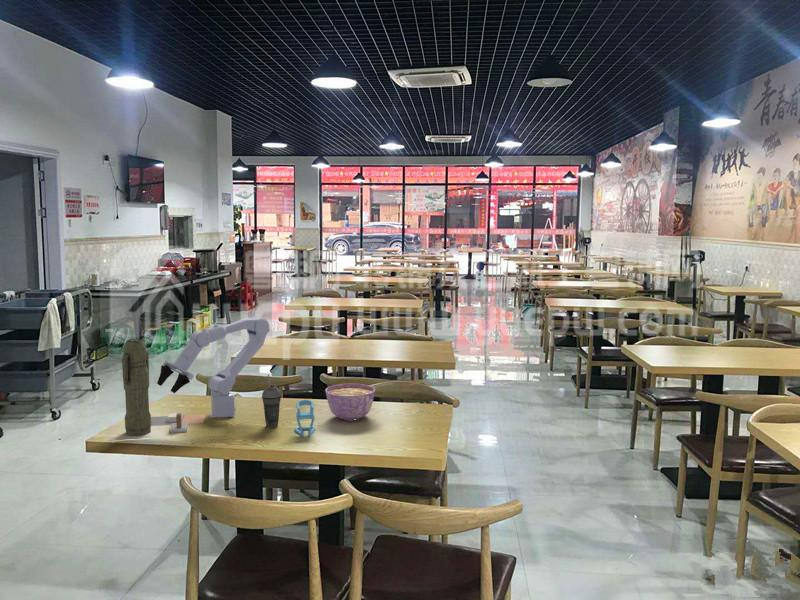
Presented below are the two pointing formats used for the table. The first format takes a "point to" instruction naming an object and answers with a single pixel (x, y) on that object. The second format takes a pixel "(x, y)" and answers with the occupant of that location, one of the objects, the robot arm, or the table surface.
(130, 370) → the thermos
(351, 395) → the bowl of food
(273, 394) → the beverage cup
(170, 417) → the block
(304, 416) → the chair
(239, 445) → the table surface
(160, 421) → the mat
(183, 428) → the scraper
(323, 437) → the table surface
